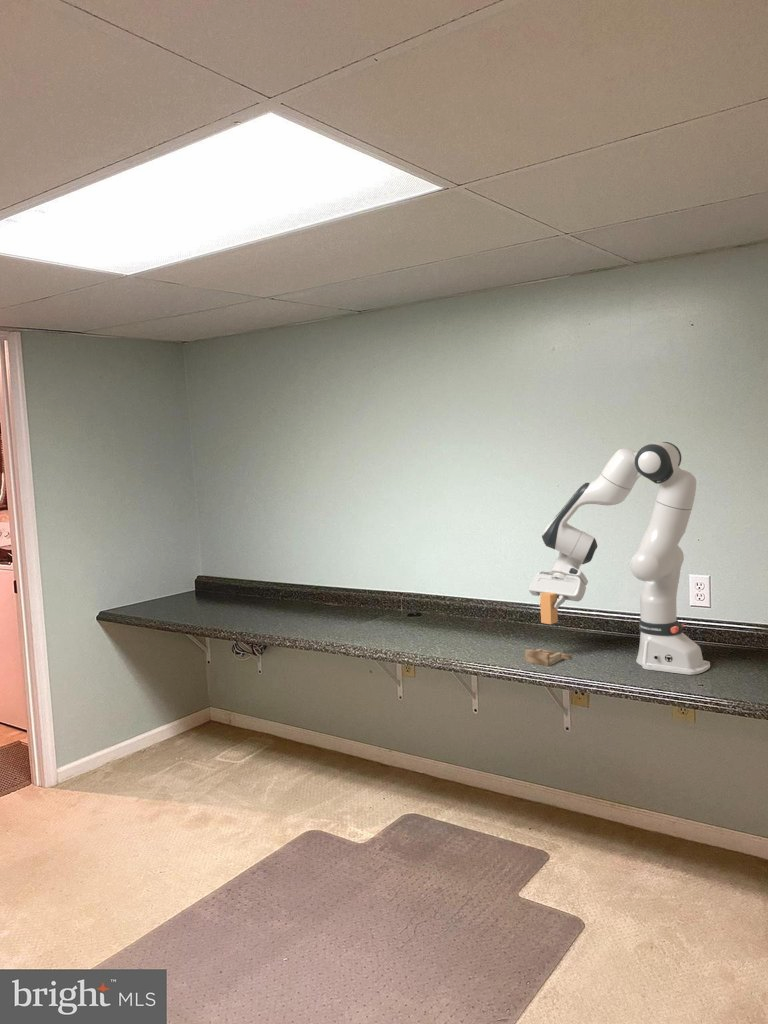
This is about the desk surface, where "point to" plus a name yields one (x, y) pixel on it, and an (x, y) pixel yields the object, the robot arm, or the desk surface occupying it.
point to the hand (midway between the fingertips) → (547, 607)
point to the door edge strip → (564, 656)
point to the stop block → (548, 608)
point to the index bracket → (541, 657)
